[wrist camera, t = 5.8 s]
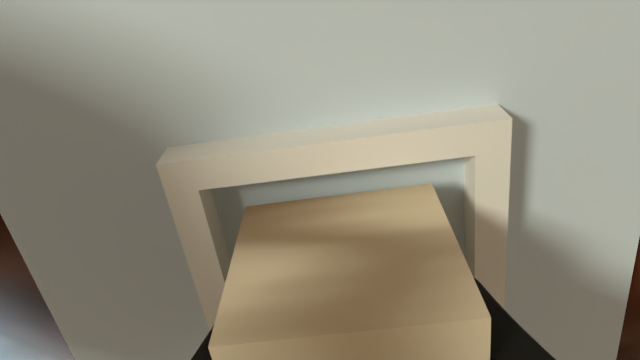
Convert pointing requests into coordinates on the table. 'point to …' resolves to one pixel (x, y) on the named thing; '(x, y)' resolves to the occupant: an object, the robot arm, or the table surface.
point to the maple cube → (350, 283)
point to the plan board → (317, 149)
